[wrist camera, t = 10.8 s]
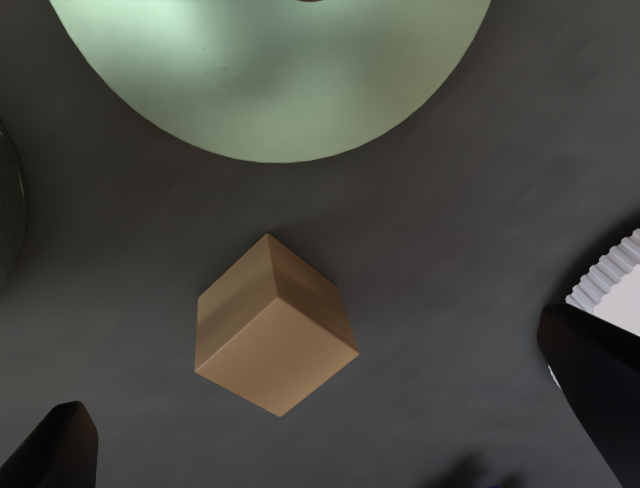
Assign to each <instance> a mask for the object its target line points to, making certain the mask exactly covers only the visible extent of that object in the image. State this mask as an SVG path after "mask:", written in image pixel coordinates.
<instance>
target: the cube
mask: <svg viewBox="0 0 640 488" xmlns="http://www.w3.org/2000/svg"><path fill="white" fill-rule="evenodd" d="M358 355H359V350H358V347H357V344H356V341H355V338H354V335H353V332H352V330H351V327H350V324H349V321H348V318H347V315H346V312H345V309H344V306H343V303H342V300H341V298H340V295H339V292H338V289H337V286H336V285H335V284H333V283H332V282H331V281H329V280H328V279H327V278H326V277H324V276H323V275H322V274H320V273H319V272H318V271H317V270H315V269H314V268H313V267H311V266H310V265H309V264H308V263H306V262H305V261H304V260H302V259H301V258H300V257H299V256H297V255H296V254H295V253H293V252H292V251H291V250H289V249H288V248H287V247H286V246H284V245H283V244H282V243H280V242H279V241H278V240H277V239H275V238H274V237H273V236H271V235H270V234H269V233H266V234H265V235H264V236H263V237H262V238H261V239H260V240H259V241H258V242H257V243H256V244H254V245H253V246H252V247H251V248H250V249H249V250H248V251H247V252H246V253H245V254H244V255H243V256H242V257H241V258H240V259H239V260H238V261H237V262H235V263H234V264H233V265H232V266H231V267H230V268H229V269H228V270H227V271H226V272H225V273H224V274H223V275H222V276H221V277H220V278H219V279H217V280H216V281H215V282H214V283H213V284H212V285H211V286H210V287H209V288H208V289H207V290H206V291H205V292H204V293H203V294H202V295H201V296H200V297H199V298H198V315H197V336H196V357H195V372H196V373H198V374H199V375H201V376H203V377H205V378H207V379H209V380H211V381H213V382H215V383H217V384H218V385H220V386H222V387H224V388H226V389H228V390H230V391H232V392H234V393H235V394H237V395H239V396H241V397H243V398H245V399H247V400H249V401H251V402H252V403H254V404H256V405H258V406H260V407H262V408H264V409H266V410H268V411H269V412H271V413H273V414H275V415H277V416H279V417H282V416H283V415H284V414H285V413H287V412H288V411H289V410H290V409H292V408H293V407H294V406H295V405H297V404H298V403H299V402H301V401H302V400H303V399H304V398H306V397H307V396H308V395H309V394H311V393H312V392H313V391H314V390H316V389H317V388H318V387H319V386H321V385H322V384H323V383H324V382H326V381H327V380H328V379H329V378H331V377H332V376H333V375H334V374H336V373H337V372H338V371H339V370H341V369H342V368H343V367H344V366H346V365H347V364H348V363H349V362H351V361H352V360H353V359H354V358H356V357H357V356H358Z"/></svg>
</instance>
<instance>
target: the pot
mask: <svg viewBox="0 0 640 488" xmlns="http://www.w3.org/2000/svg"><path fill="white" fill-rule="evenodd" d="M27 216H28V201H27V188H26V184H25V180H24V176H23V171H22V167H21V164H20V162H19V159H18V157H17V154H16V152H15V149H14V146H13V144H12V142H11V140H10V138H9V136H8V135H7V133H6V131H5V129H4V127H3V125H2V124H1V122H0V289H1V287H2V285H3V284H4V282H5V280H6V279H7V277H8V276H9V274H10V272H11V271H12V269H13V267H14V266H15V264H16V260H17V256H18V252H19V250H20V248H21V246H22V242H23V239H24V235H25V232H26V227H27Z"/></svg>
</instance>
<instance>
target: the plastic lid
mask: <svg viewBox="0 0 640 488" xmlns="http://www.w3.org/2000/svg"><path fill="white" fill-rule="evenodd" d="M589 270H590V272H589V273H588V274H587V275H583V276H582V277H581V278H580V280H581V282H580V283H579V284H578V285H575V286H574V287H573V289H572V290H573V292H572V294H571V295H568V296H567V297H566V299H565V300H566V303H568V304H571V305H573V306H575V307H577V308H579V309H581V310H584V311H586V312H588V313H590V314H592V315H594V316H597V317H599V318H601V319H603V320H605V321H607V322H609V323H612V324H614V325H616V326H618V327H620V328H622V329H625V330H627V331H629V332H631V333H633V334H635V335H637V336H640V229H639V228H638V229H636V230H635V231H633V235H631V236H630V237H625V238H623V239H622V240H621V243H620V244H619V245H618V246H613V247H612V248H611V249H610V252H609V253H608V254H607V255H603V256H602V257H600V258H599V262H598V263H597V264H596V265H592V266H591V267H590V268H589ZM548 368H549V369H550V371H551V372H550V373H551V375H552V377H553V379H554V381H555V382H556V383H557V385H558V386H559V384H558V382H557V380H556V378H555V376H554V374H553V372H552V370H551V368H550V367H549V366H548ZM559 387H560V386H559ZM561 390H562V389H561Z"/></svg>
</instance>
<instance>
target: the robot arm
mask: <svg viewBox="0 0 640 488" xmlns="http://www.w3.org/2000/svg"><path fill="white" fill-rule="evenodd" d="M537 341H538V345H539V347H540V349H541V351H542V353H543V355H544V357H545V359H546V361H547V363H548V365H549V367H550V368H551V370H552V372H553V374H554V376H555V378H556V380H557V382H558V384H559V386H560V388H561V389H562V391H563V393H564V395H565V397H566V399H567V401H568V403H569V405H570V406H571V408H572V410H573V412H574V414H575V415H576V417H577V418H578V420H579V421H580V423H581V425H582V426H583V428H584V429H585V431H586V432H587V434H588V435H589V437H590V438H591V440H592V441H593V443H594V444H595V446H596V447H597V449H598V450H599V452H600V453H601V455H602V456H603V458H604V459H605V461H606V462H607V464H608V465H609V467H610V468H611V470H612V471H613V473H614V474H615V476H616V478H617V479H618V481H619V482H620V484H621V485H622V487H623V488H640V336H637V335H635V334H633V333H631V332H629V331H627V330H625V329H622V328H620V327H618V326H616V325H614V324H612V323H609V322H607V321H605V320H603V319H601V318H599V317H597V316H594V315H592V314H590V313H588V312H586V311H584V310H581V309H579V308H577V307H575V306H573V305H571V304H568V303H565V302H560V303H555V304H550V305H546V306H545V307H544V308H543V309H542V313H541V318H540V323H539V328H538V333H537ZM97 453H98V432H97V429H96V426H95V425H94V423H93V421H92V419H91V417H90V415H89V413H88V412H87V410H86V408H85V406H84V405H83V403H82V402H80V401H73V402H68V403H63V404H59V405H56V406H55V407H54V408H53V409H52V410H51V411H50V412H49V413H48V414H47V415H46V416H45V418H44V419H43V420H42V421H41V422H40V423H39V424H38V426H37V427H36V428H35V429H34V430H33V431H32V432H31V433H30V435H29V436H28V437H27V438H26V439H25V440H24V441H23V443H22V444H21V445H20V446H19V447H18V448H17V449H16V451H15V452H14V453H13V454H12V455H11V456H10V457H9V459H8V460H7V461H6V462H5V463H4V464H3V465H2V466H1V468H0V488H95V482H96V468H97Z"/></svg>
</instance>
